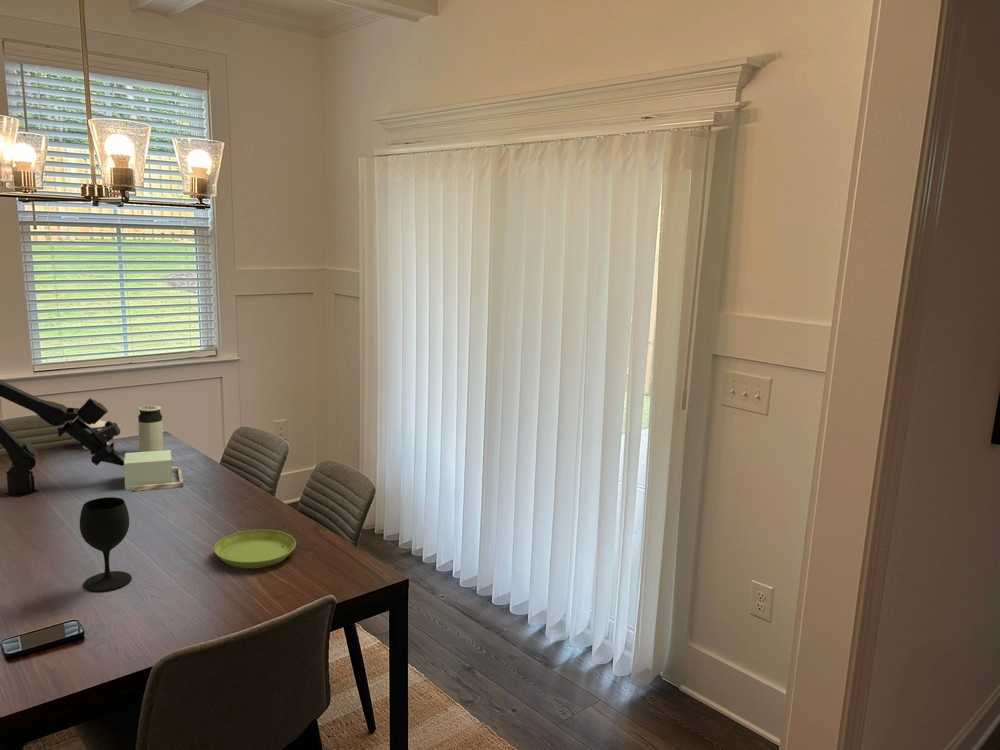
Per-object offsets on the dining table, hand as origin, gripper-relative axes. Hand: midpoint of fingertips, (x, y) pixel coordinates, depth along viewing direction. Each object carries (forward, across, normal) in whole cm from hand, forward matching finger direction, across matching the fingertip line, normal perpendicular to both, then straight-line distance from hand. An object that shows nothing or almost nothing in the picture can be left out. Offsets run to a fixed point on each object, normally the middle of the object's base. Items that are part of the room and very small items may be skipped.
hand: (123, 464), depth 242 cm
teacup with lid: (-3, +46, +12) cm, 47 cm away
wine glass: (+3, -74, +6) cm, 74 cm away
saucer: (+28, -70, -18) cm, 77 cm away
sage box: (+10, 0, 0) cm, 10 cm away
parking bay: (+12, 0, -2) cm, 12 cm away
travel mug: (+11, +32, -1) cm, 34 cm away
